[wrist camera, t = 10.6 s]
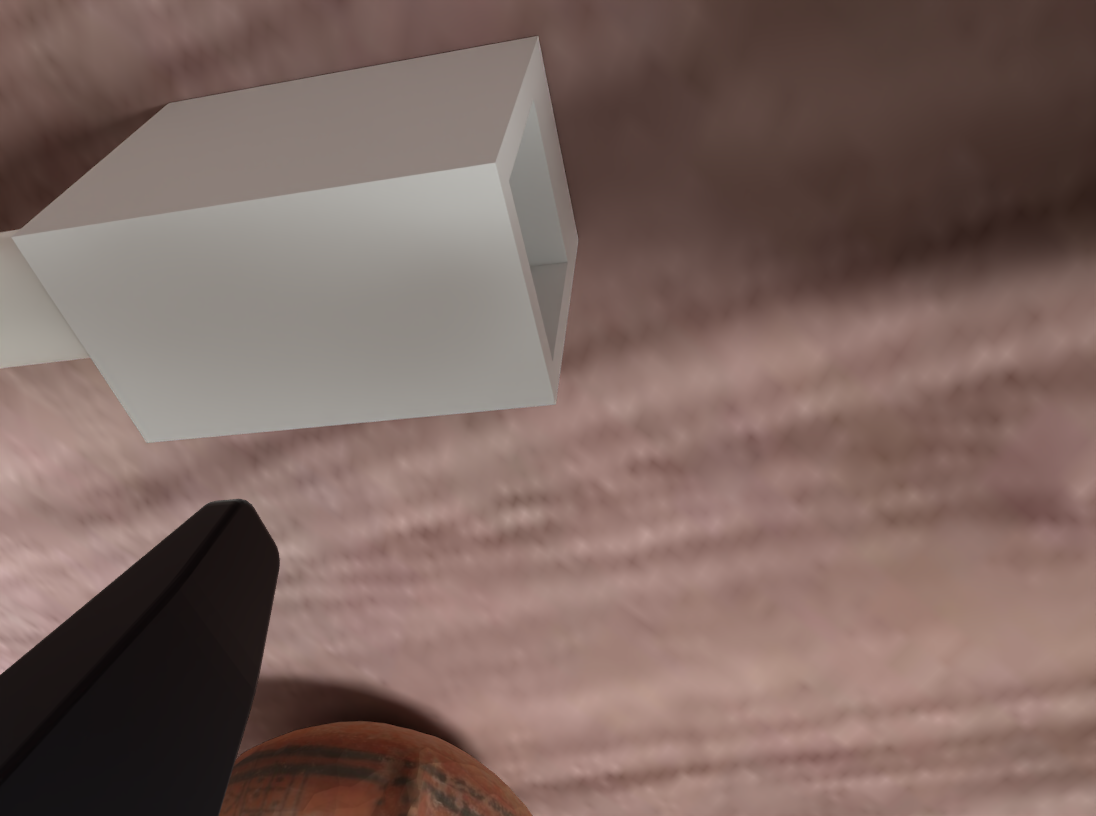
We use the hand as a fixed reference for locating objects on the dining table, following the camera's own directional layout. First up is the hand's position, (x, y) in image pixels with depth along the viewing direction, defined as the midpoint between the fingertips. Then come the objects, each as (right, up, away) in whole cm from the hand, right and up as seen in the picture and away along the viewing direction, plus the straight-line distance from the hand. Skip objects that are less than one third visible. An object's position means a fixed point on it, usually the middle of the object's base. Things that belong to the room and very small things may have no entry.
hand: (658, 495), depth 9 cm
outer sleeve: (-5, +7, +12) cm, 15 cm away
